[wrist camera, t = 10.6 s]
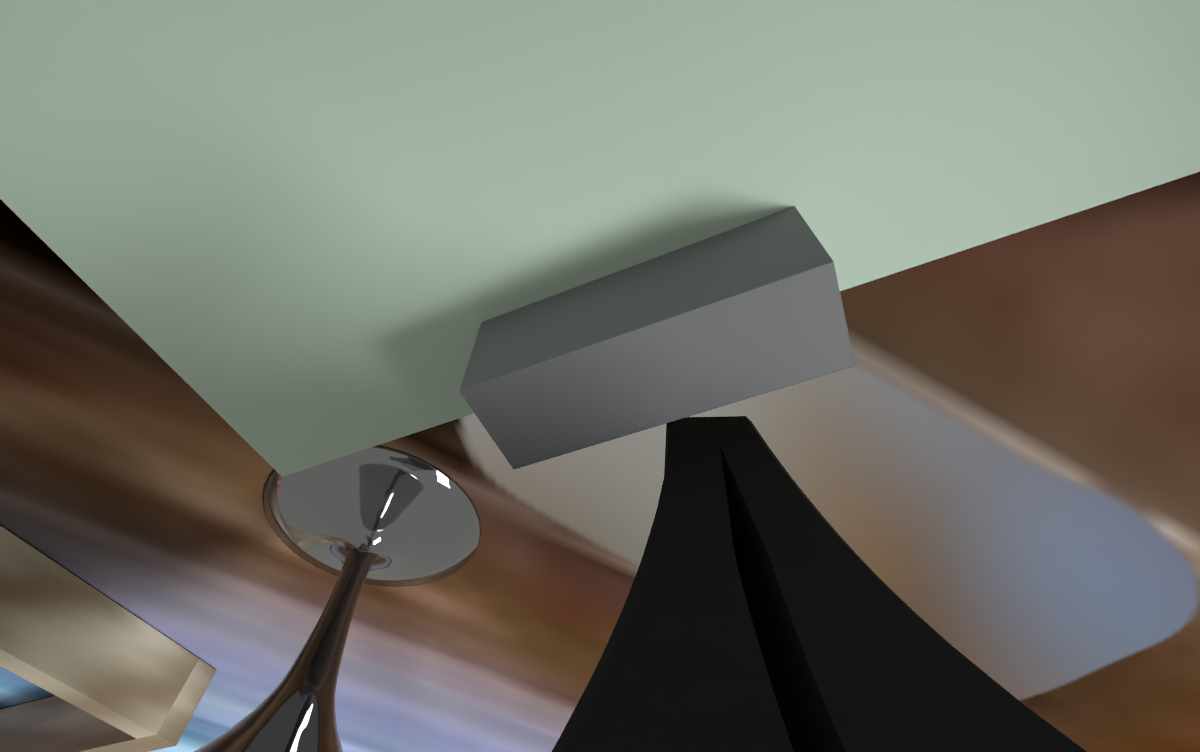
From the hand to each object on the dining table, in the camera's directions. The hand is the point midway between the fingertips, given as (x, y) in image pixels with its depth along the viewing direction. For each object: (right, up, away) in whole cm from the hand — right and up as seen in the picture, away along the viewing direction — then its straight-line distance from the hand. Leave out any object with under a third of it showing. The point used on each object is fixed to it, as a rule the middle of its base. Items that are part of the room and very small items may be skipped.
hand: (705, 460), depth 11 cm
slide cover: (-2, +5, -2) cm, 6 cm away
